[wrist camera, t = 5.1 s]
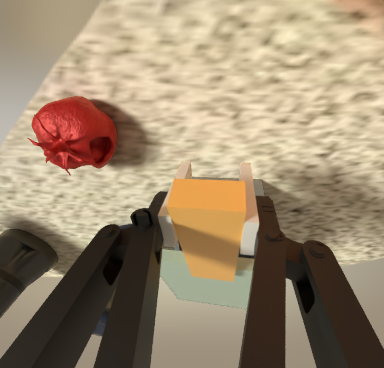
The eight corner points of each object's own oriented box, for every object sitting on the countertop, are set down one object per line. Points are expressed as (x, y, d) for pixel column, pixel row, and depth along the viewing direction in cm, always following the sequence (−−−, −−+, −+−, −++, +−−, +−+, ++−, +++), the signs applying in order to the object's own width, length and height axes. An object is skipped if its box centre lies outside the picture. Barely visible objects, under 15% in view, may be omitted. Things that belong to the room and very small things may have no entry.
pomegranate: (49, 119, 30) (-14, 143, 22) (85, 75, 25) (21, 87, 18) (99, 167, 33) (60, 203, 26) (138, 137, 29) (105, 169, 21)
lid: (179, 291, 34) (176, 304, 33) (104, 175, 12) (89, 201, 11) (256, 302, 32) (257, 316, 31) (336, 184, 10) (351, 218, 9)
